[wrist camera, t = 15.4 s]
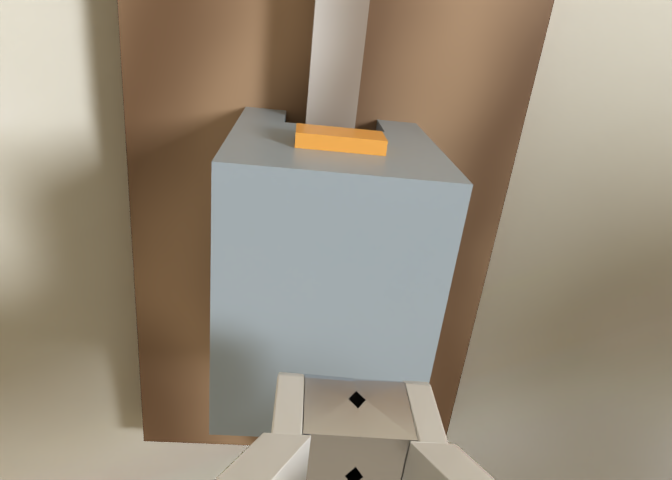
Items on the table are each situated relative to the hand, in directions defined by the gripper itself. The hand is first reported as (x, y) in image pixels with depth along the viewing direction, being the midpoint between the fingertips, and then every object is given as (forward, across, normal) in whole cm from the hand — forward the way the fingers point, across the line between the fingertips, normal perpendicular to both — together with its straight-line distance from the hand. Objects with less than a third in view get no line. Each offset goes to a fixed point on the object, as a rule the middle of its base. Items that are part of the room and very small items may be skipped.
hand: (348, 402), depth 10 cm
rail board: (+12, +1, 0) cm, 12 cm away
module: (+10, 0, 0) cm, 10 cm away
